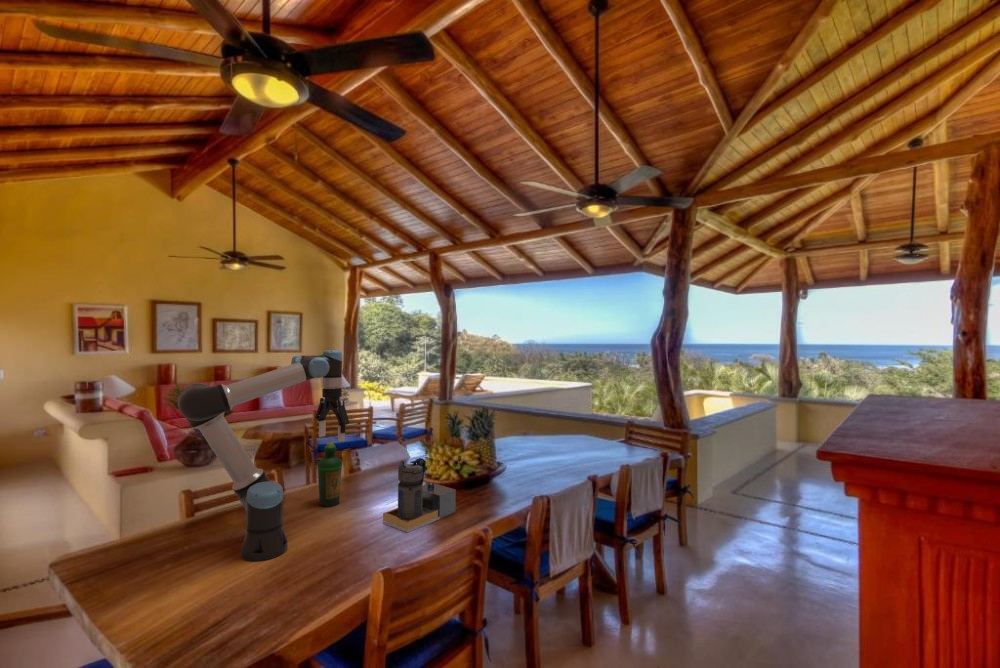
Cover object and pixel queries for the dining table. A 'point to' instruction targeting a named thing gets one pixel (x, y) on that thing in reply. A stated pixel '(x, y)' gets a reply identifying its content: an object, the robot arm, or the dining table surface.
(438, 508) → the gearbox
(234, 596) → the dining table surface
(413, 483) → the beverage bottle
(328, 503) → the bottle
